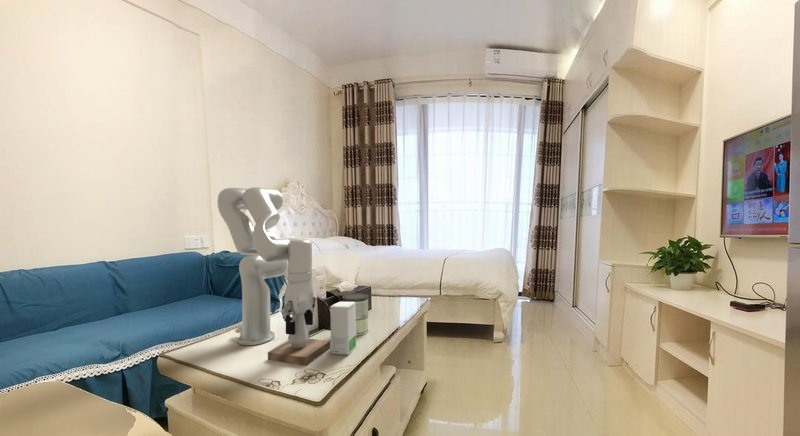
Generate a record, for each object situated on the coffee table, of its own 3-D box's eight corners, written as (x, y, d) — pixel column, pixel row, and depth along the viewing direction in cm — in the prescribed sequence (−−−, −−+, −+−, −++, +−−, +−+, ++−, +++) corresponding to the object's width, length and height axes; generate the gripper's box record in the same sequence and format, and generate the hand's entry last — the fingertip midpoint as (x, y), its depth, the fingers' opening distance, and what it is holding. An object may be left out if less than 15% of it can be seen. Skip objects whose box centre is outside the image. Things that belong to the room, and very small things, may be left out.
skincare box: (348, 355, 101) (347, 307, 102) (329, 354, 103) (328, 306, 103) (356, 346, 109) (356, 301, 110) (339, 344, 111) (338, 300, 111)
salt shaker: (289, 350, 99) (289, 309, 100) (288, 344, 105) (288, 305, 105) (309, 347, 102) (308, 307, 102) (307, 341, 107) (306, 303, 107)
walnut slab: (267, 360, 98) (267, 352, 98) (295, 344, 112) (295, 337, 112) (306, 365, 94) (306, 357, 94) (330, 348, 108) (330, 340, 108)
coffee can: (338, 335, 120) (338, 298, 120) (347, 326, 130) (346, 292, 131) (365, 336, 119) (364, 299, 119) (371, 327, 129) (370, 293, 129)
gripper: (305, 272, 113) (305, 320, 113) (272, 281, 97) (272, 337, 96) (323, 273, 111) (323, 322, 110) (293, 282, 94) (293, 339, 94)
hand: (299, 329), depth 103 cm, fingers open, 9 cm apart
